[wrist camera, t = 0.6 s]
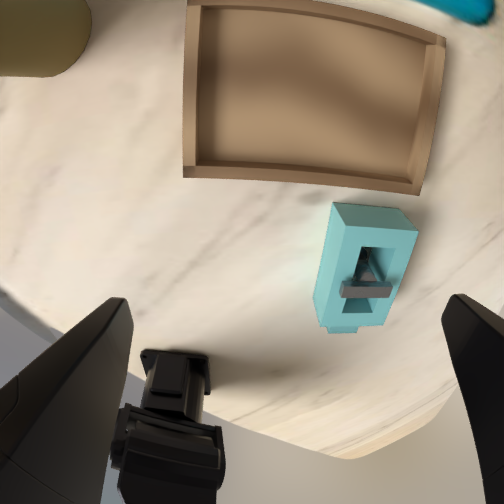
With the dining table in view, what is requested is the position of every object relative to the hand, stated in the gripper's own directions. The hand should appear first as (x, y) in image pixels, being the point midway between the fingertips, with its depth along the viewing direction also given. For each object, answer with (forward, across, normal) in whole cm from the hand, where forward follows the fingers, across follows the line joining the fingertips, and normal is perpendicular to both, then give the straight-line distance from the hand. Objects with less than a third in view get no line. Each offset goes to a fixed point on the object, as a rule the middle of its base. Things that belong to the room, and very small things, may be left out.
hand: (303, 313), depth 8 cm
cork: (+13, +14, -10) cm, 21 cm away
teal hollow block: (+13, -7, +6) cm, 16 cm away
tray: (+13, -2, -5) cm, 14 cm away
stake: (+13, -7, +6) cm, 16 cm away
